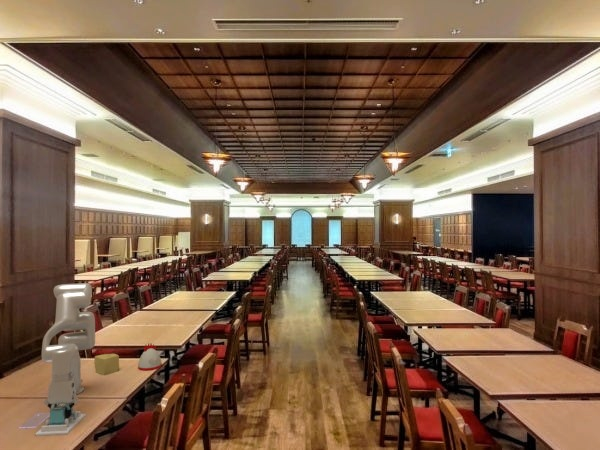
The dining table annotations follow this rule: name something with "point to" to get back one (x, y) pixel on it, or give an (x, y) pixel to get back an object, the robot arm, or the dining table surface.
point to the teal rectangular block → (58, 414)
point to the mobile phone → (35, 420)
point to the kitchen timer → (149, 359)
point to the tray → (63, 428)
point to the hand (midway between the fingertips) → (61, 417)
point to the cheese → (106, 363)
